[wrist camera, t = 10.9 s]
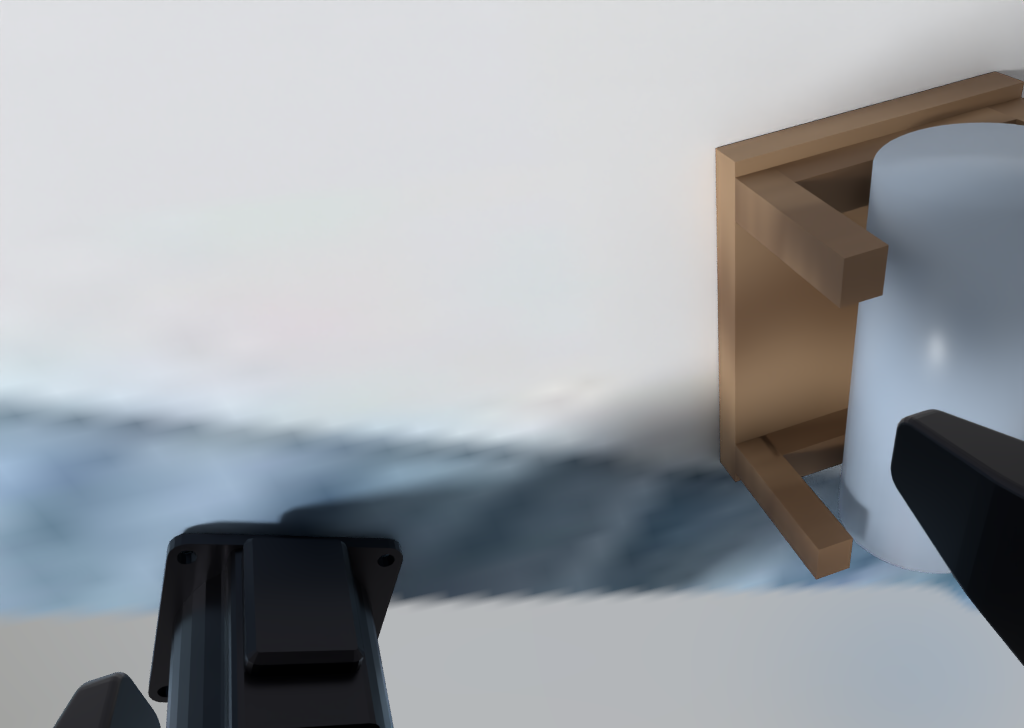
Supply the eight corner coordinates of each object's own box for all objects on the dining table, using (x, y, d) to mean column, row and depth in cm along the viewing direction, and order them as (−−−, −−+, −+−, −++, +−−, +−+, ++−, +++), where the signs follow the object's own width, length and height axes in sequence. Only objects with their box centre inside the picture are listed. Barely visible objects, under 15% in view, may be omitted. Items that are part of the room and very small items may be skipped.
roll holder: (937, 390, 28) (1067, 498, 24) (720, 462, 27) (815, 588, 23) (995, 71, 22) (1187, 139, 18) (715, 148, 21) (846, 240, 17)
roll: (923, 442, 27) (1041, 534, 23) (807, 494, 26) (912, 597, 22) (982, 107, 20) (1158, 165, 17) (830, 160, 19) (984, 232, 16)
